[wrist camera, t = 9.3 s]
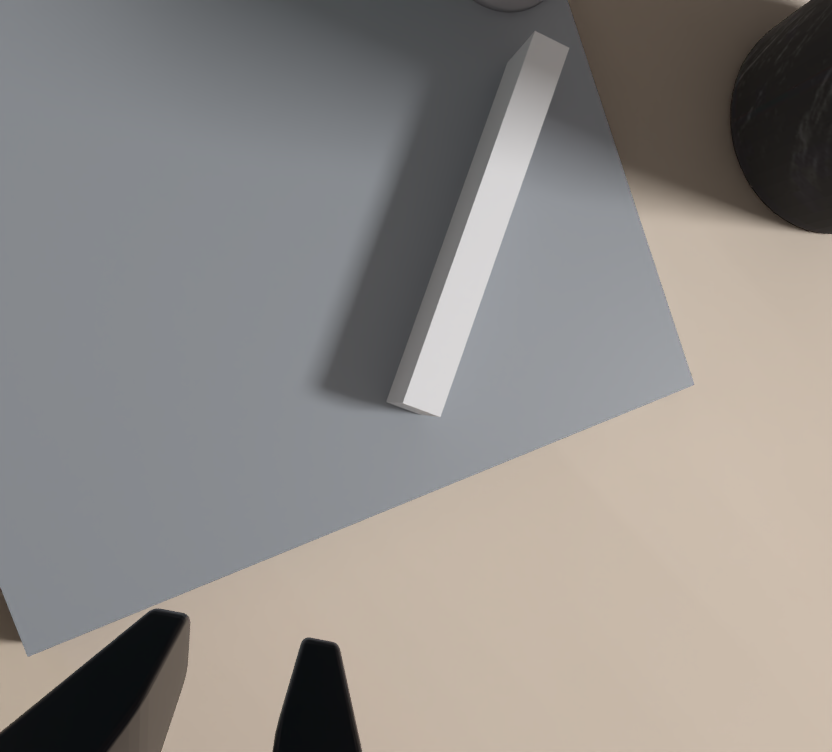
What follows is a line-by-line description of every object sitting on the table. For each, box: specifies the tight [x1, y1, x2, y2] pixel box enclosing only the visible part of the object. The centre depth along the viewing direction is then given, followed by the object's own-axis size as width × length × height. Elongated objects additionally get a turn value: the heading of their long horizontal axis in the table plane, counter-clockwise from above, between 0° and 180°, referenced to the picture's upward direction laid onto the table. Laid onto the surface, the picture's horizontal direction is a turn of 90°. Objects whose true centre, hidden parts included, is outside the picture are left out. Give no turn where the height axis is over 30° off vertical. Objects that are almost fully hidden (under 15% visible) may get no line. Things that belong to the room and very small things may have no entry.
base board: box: [0, 0, 694, 656], centre depth 20 cm, size 19×24×3 cm
